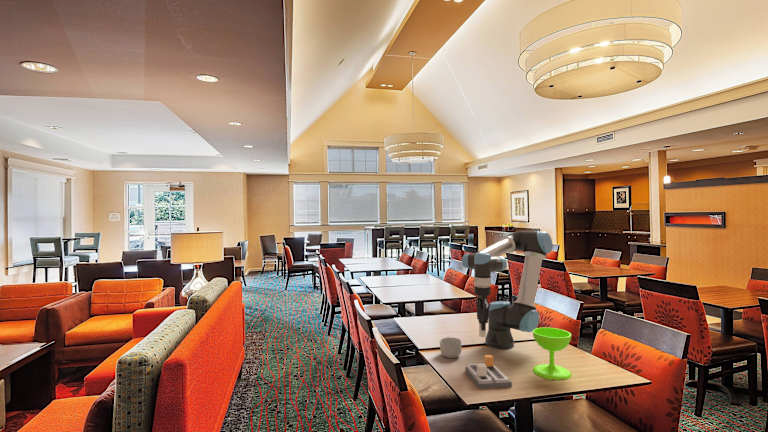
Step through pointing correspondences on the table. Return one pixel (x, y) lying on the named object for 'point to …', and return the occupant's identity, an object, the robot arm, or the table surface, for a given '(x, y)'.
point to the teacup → (450, 347)
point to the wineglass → (552, 351)
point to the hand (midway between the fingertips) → (482, 336)
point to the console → (488, 377)
